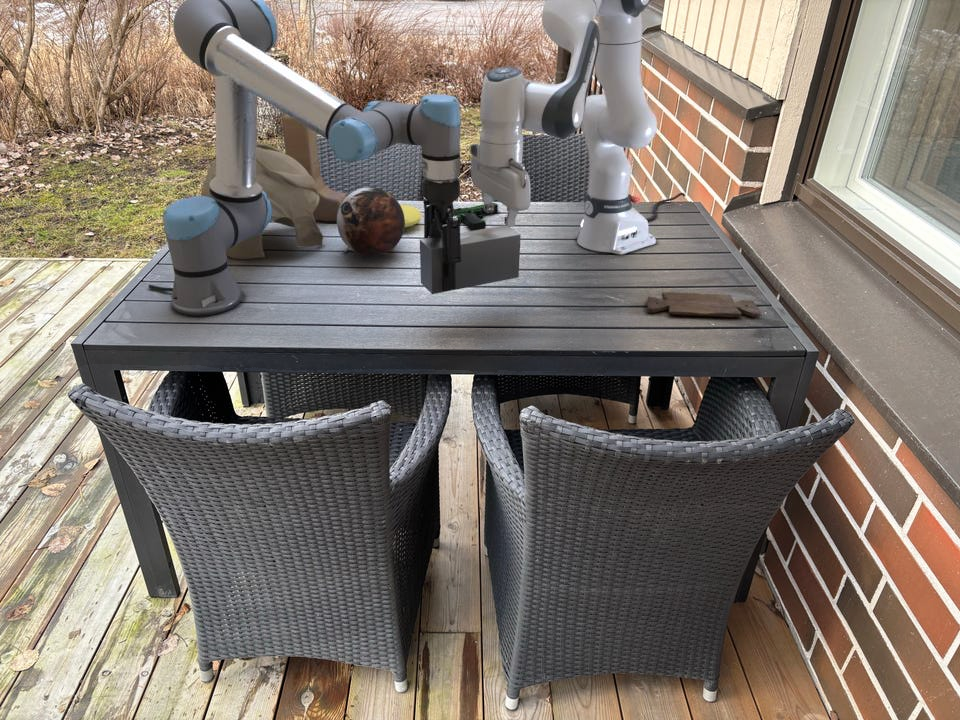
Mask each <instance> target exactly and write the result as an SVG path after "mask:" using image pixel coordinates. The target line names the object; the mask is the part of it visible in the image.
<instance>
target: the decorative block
mask: <svg viewBox="0 0 960 720" xmlns="http://www.w3.org/2000/svg"><path fill="white" fill-rule="evenodd" d="M280 119H281V125H282V133H283V134H282V135H283V143H284V151H285V154H286V155H288V156H290V157H292V158H293V159H295V160H296V161H297V162H299V163H300V164H301V165H302V166H303V167H304V168H305V169H306V171H307V172H308V173H309V175H310V176H312V178H313V179H314V182H315V185H316V188H317V193H318V195H319V198H320V200H319V204H318V206H317V208H316V209H315V210H314V212H313V216H314V219H315V221H316V222H317V221H319V222H333V223H337V214H338V210H339V208H340V205H341V204H342V202H343V201H344V199H345V198H346V197H347V196H348V195H347V193H346V192H342V191H339V190H338V191H337V190H333V189H331V187H329V186H327V185H326V183H325V181H324V179H323V177H322V175H321V166H320V165H321V163H320V155H319V143H318V136H317V134H318V133H316V132H315V131H313V130H311V129H310V128H308V127H306V126H305V125H303V124H302V123H300V122H298V121H297V120H295V119H294V118H292V117H290V116H289V115H287V114H284V115H283V116H281V118H280Z"/></svg>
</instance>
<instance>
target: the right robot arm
mask: <svg viewBox="0 0 960 720" xmlns="http://www.w3.org/2000/svg"><path fill="white" fill-rule="evenodd" d="M650 3H651V0H545V2H544V4H543V8H542V12H541V13H542V14H541V22H542V27H543V29H544V31H545V33H546V35H547V36H548V37H549V38H550V40H551V41H552V42H553V43H554V44H555V45H556V46H558V47H560V48H562V49H563V50H566V51H567V52H569V53H571V54H572V56H571V57H572V58H571V61H570V64H569V68H568V71H567V75H566V79H565V80H564V81H562V82H560V83H556V84H555V83H554V84H553V83H546V82H545V83H544V82H538V81H532V80H530V79H527V78H525V77H524V73H523V71H522V69H520V68H518V67H514V66H501V67H495V68H492V69H490V70H489V71H487V72H486V73H485V74H484V77H483V81H482V84H481V85H482V86H481V94H480V107H479V108H480V109H479V111H480V112H479V117H480V122H481V131H480V134H479V142H476V143H471V144H469V154H470V155H471V157H470V178H471V179H470V180H471V183H472V185H473V187H474V188H476V189H478V190H480V194H481V198H482V202H483V205H484V211H486V212H487V213H492V212H494V204H493V203H494V202H493V199H494V200H496V201H497V202H499V203H500V204H502V205H503V206H505V207H506V212H507V215H506V216H504V219H503V221H504V226H506V225H507V226H508V227H510V228H512V227H515V225H516V218H517V216H518V214H519V213H520V212H522V211H527V210H529V209H530V207H531V203H532V202H531V201H532V200H531V199H532V198H531V196H532V195H531V193H532V191H531V179H530V175H529V173H528V172H527V170H526V168H525V164H523V155H524V154H523V152H524V134H523V131H526V132H532V133H538V134H543V135H547V136H551V137H554V138H557V139H561V140H562V139H563V140H564V139H567V138H568V137H570V136H572V135H573V134H575V133H576V132H577V131H578V130H579V129H581V131H582V133H583V136H584V141H585V145H586V149H587V156H588V167H589V168H588V182H587V191H586V192H585V196H584V216H583V219H582V221H581V223H580V227H581V228H580V231H579V234H578V237H577V239H576V242H577V244H578V245H579V246H580V247H582V248H584V249H587V250H590V251H594V252H600V253H611V254H616V255H625V254H628V253H631V252H634V251H637V250H640V249H643V248H646V247H650V246H652V245H655V244H656V243H657V239H656V237H655V236H654V235H653V234H651V233H650V232H649V230H650V229H649V228H650V226H649V222H650V221H652V220H654V219H655V218H656V217H657V215H658V213H657V209H658V206H659V205H660V204H662V203H663V204H664V203H666V202H671V201H675V200H676V199H677V198H679V197H681V196H682V197H684V198H685V197H686V194H685V193H684V192H679V193H677V194H676V195H675V196H674V197H670V198H666V199H661V200H659V201H657V202H656V203H655V204H654V205H653V206H654V207H653V215H652V216H650V217H648V218H646V217H645V216H644V215H642V214H641V213H640V212H638V211H637V210H636V208H634V207H633V203H634V205H639V203H640V202H641V198H640V197H639V196H637V195H636V194H635V195H631V194H630V192H629V191H630V183H631V175H632V165H631V163H630V160H629V159H628V157H627V155H626V152H625V149H632V150H633V149H634V150H636V149H637V150H641V149H644V148H646V147H647V146H649V144H651V142H652V141H653V140H654V138H655V136H656V133H657V129H658V120H657V116H656V115H655V113H654V112H653V110H652V108H651V107H650V105H649V102H648V100H647V97H646V93H645V88H644V85H643V80H642V79H643V78H642V47H643V45H642V44H643V43H642V42H643V18H642V17H643V16H642V12H644V11H645V10H646V9H647V7H648V6H649V4H650ZM596 17H597V23H595V19H596ZM594 72H595V77H596V79H597V81H598V82H599V84H600V86H601V88H602V90H603V93H602V94H591V95H588V93H589V89H590V85H591V82H592V77H593V74H594ZM492 214H493V213H492Z"/></svg>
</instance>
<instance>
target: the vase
mask: <svg viewBox="0 0 960 720" xmlns="http://www.w3.org/2000/svg"><path fill="white" fill-rule="evenodd" d="M400 206H401V208H402V210H403V213H404V218H405V228H404V229H407V228H410V227H412V226H413V225H416V224H418V223H419V222H420V221H421V219H422V217H423V215H422V212H421V211H420V210H419V209H418V208H417V207H414V206H411V205H407V204H400Z"/></svg>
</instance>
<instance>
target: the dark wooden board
mask: <svg viewBox="0 0 960 720" xmlns="http://www.w3.org/2000/svg"><path fill="white" fill-rule="evenodd" d="M661 297H662V298H659V297H656V296H648V297H647V301H646V302H647V303H646V309H647V313H650V314H652V313H658V312H663V311H667V310H668V315H674V316H699V317H718V318H719V317H721V318H741V317H742V315H745V316H749V317H751V318H753V317H758V318H759V317H761V316H762V315H761V314H762V313H761V312H760V310H759V308H758V306H757V304H756V303H755V301H754V300H751V299H741V300H738V301H734V300H733V297H732V295H731V294H718V293H696V292H692V293H691V292H671V291H669V292H667V291H666V292H664V291H663V292H661Z"/></svg>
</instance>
